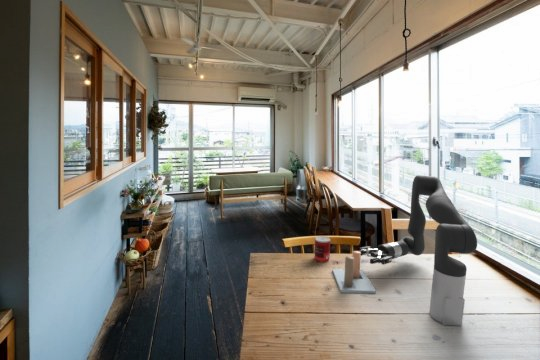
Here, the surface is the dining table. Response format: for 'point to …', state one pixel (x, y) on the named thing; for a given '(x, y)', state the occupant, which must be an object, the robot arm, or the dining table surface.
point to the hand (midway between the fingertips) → (363, 257)
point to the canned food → (322, 249)
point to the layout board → (358, 282)
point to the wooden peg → (356, 264)
